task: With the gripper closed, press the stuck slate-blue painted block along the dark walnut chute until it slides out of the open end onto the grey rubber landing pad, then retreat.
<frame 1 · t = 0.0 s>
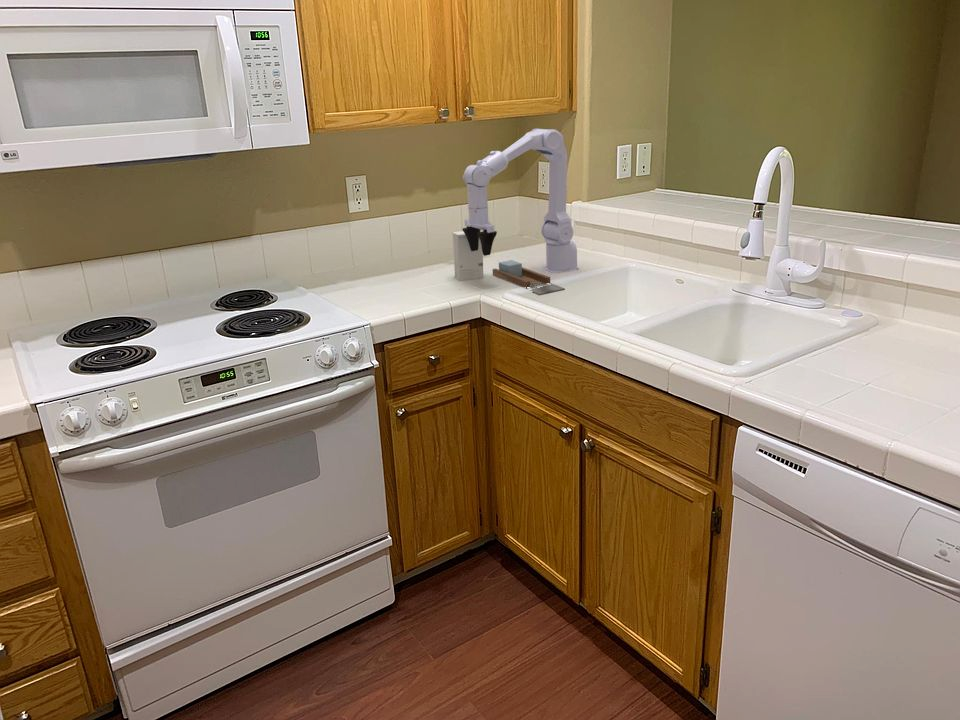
hand: (480, 252, 218), 10 cm above the table, fingers open, 7 cm apart
skincare box: (469, 279, 231), on the table
chute: (520, 280, 225), on the table
block: (510, 269, 229), point 2 cm above the table, slide at 0.0 cm
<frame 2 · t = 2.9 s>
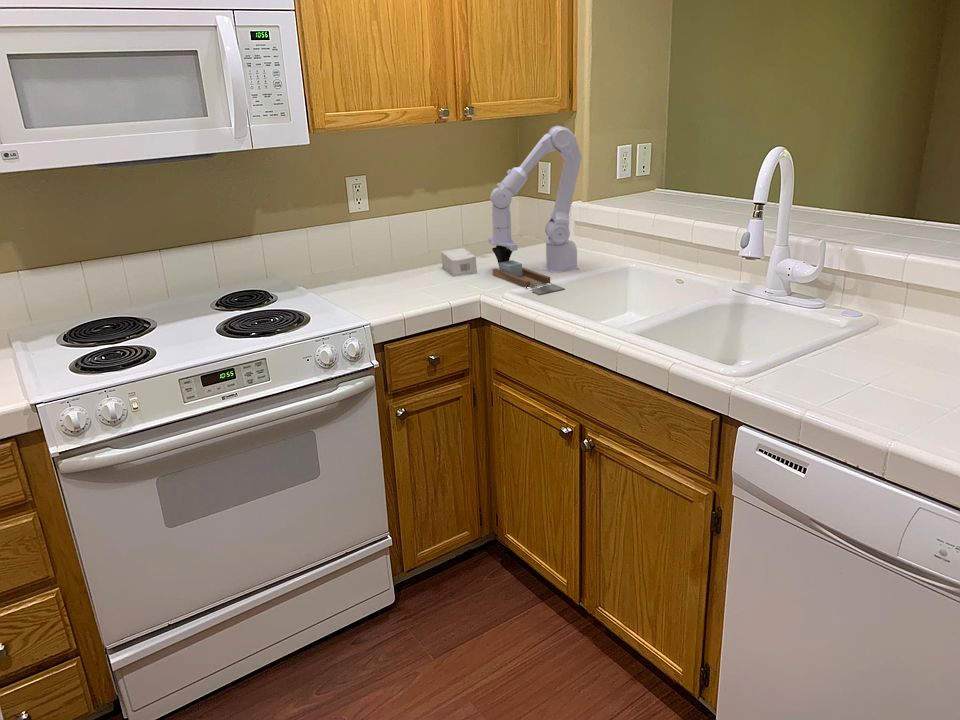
hand: (503, 269, 232), 2 cm above the table, fingers closed
skincare box: (465, 267, 232), point 3 cm above the table
block: (510, 269, 228), point 2 cm above the table, slide at 0.3 cm, touching gripper
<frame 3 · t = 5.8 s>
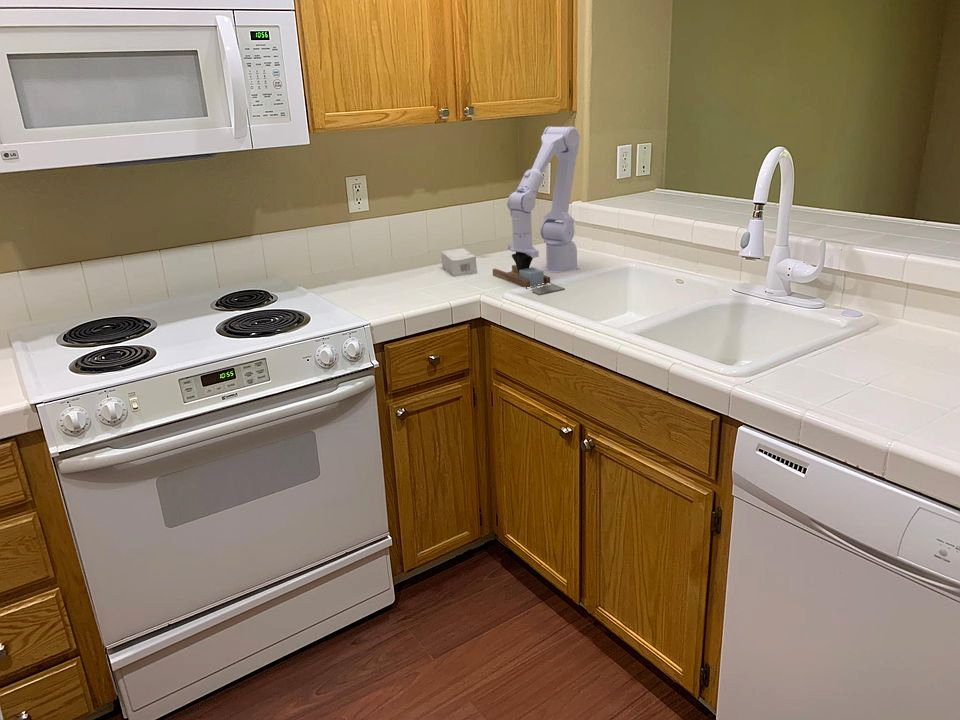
hand: (523, 276, 223), 2 cm above the table, fingers closed
block: (531, 276, 219), point 2 cm above the table, slide at 12.1 cm, touching gripper
everything else where it was.
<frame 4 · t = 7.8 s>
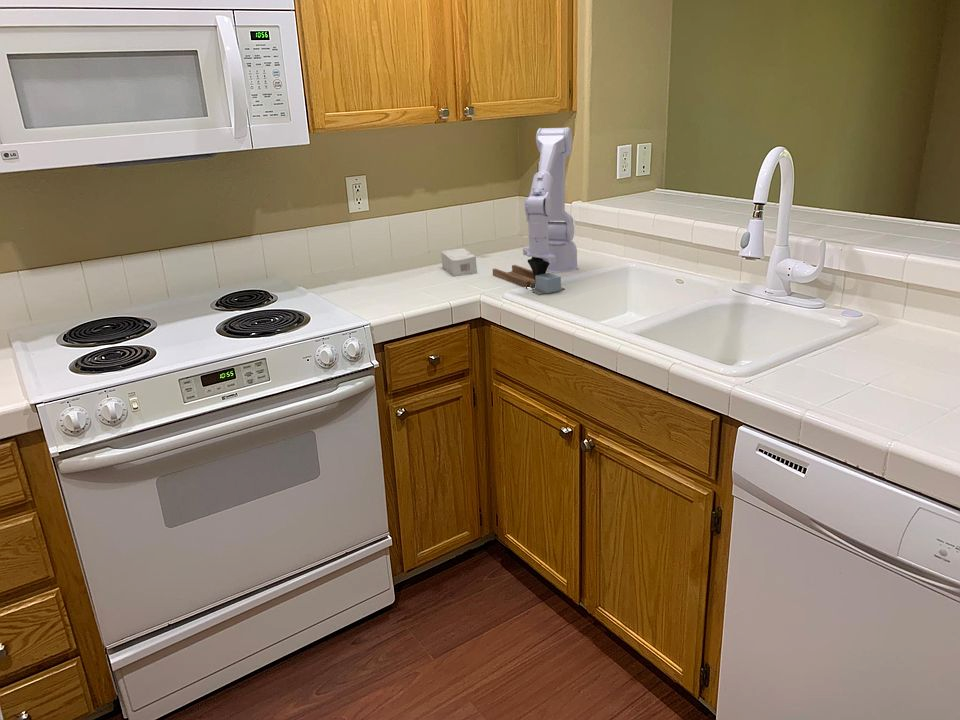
hand: (539, 282, 215), 2 cm above the table, fingers closed
block: (548, 282, 211), point 2 cm above the table, slide at 21.0 cm, touching gripper
everything else where it was.
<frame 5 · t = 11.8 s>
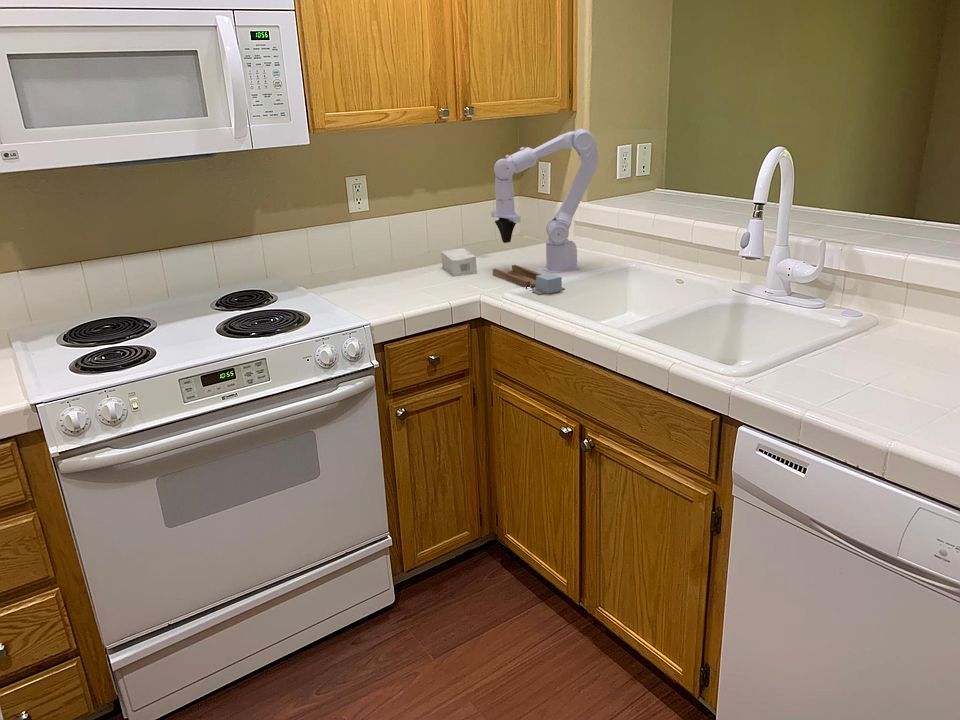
hand: (506, 242, 231), 10 cm above the table, fingers closed
block: (548, 283, 211), point 2 cm above the table, slide at 21.4 cm
everything else where it was.
at the end: block slide at 21.4 cm; block inside the target area (0.4 cm from its centre), point 2.5 cm above the table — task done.
